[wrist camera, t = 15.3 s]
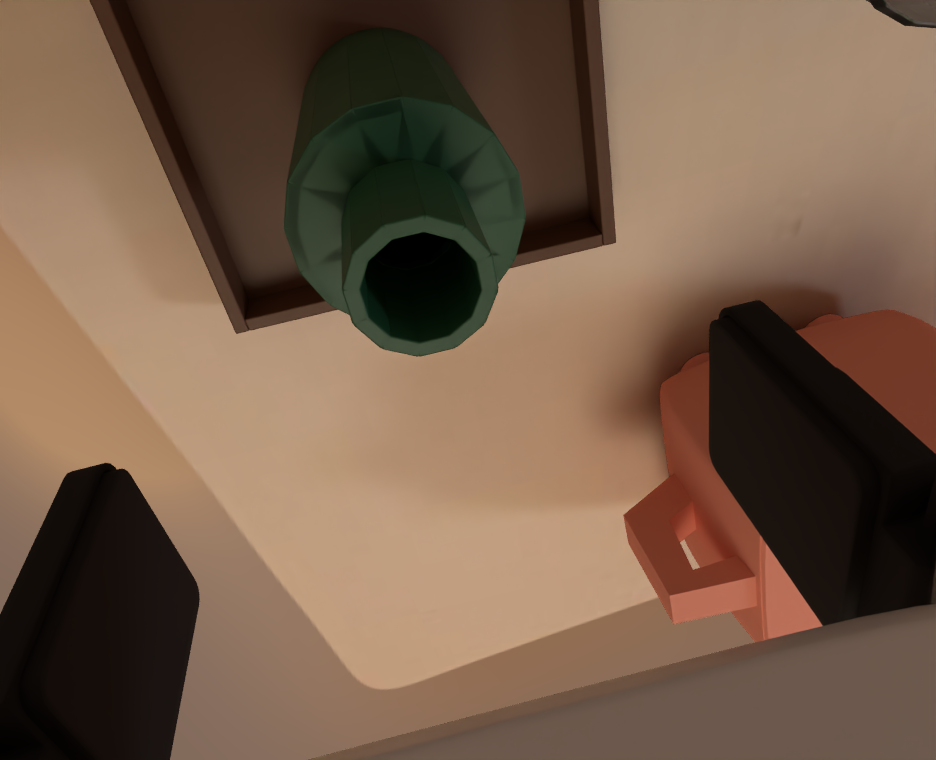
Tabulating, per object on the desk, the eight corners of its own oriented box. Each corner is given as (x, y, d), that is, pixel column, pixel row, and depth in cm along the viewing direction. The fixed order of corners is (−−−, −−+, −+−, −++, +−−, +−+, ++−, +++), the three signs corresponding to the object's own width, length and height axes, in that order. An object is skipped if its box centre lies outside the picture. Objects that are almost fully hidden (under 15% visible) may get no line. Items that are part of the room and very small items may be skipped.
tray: (243, 305, 34) (235, 334, 31) (98, -39, 26) (74, -32, 23) (597, 220, 34) (616, 243, 32) (565, -146, 26) (587, -150, 24)
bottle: (330, 206, 31) (324, 433, 18) (281, 48, 27) (227, 185, 14) (474, 172, 31) (575, 372, 18) (444, 10, 27) (543, 111, 14)
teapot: (970, 247, 38) (1250, 400, 26) (942, 425, 45) (1152, 607, 34) (572, 371, 39) (674, 574, 27) (607, 527, 46) (700, 741, 34)
